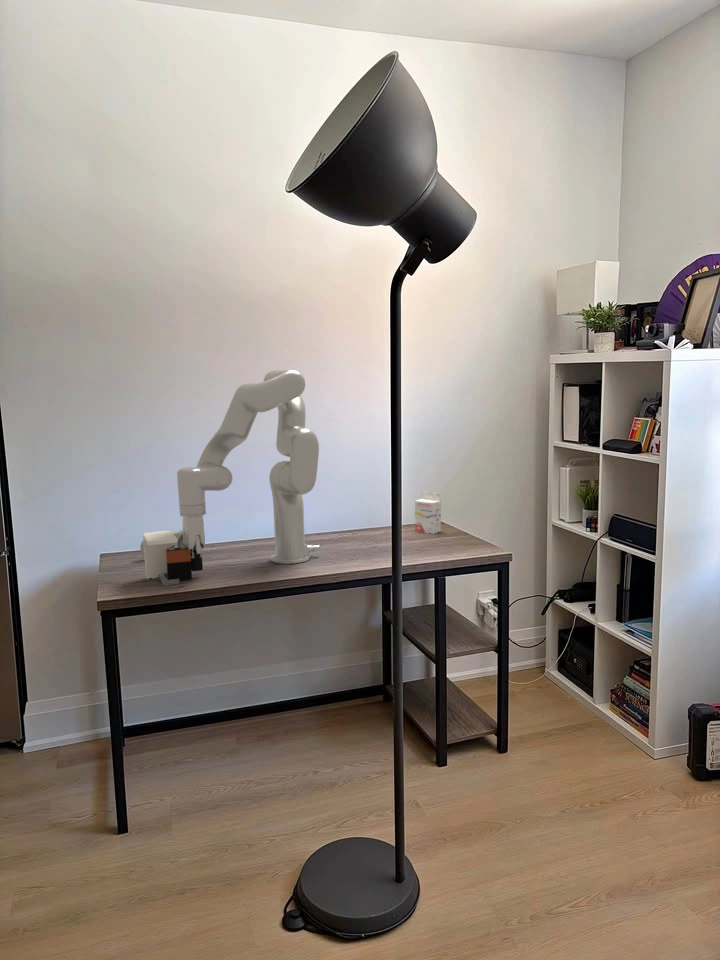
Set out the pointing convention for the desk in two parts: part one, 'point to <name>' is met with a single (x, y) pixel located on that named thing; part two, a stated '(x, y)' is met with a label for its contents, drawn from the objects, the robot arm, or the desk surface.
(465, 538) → the desk surface
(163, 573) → the overhang shelf
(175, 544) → the game controller
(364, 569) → the desk surface
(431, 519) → the ink cartridge box
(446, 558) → the desk surface
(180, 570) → the battery
